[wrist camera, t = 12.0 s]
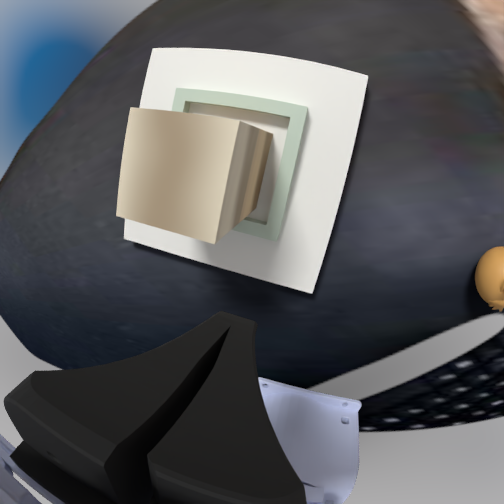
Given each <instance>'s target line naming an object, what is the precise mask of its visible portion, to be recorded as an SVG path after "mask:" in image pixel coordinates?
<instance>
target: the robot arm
mask: <svg viewBox="0 0 504 504" xmlns="http://www.w3.org/2000/svg"><path fill="white" fill-rule="evenodd" d="M257 326H258V325H257V323H256V322H255V321H252V320H249V319H246V318H242V317H239V316H236V315H232V314H229V313H226V312H223V311H220V312H218V313H216V314H215V315H213V316H212V317H211V318H209V319H208V320H206V321H205V322H203V323H201V324H200V325H198V326H197V327H195V328H193V329H192V330H190V331H188V332H187V333H185V334H183V335H181V336H180V337H178V338H176V339H174V340H172V341H170V342H168V343H166V344H164V345H162V346H160V347H158V348H155V349H153V350H151V351H148V352H146V353H143V354H140V355H138V356H135V357H132V358H128V359H124V360H121V361H117V362H113V363H109V364H105V365H100V366H94V367H88V368H81V369H72V370H55V371H54V370H53V371H34V372H33V373H32V374H30V375H29V376H28V377H27V378H26V379H25V380H23V381H22V382H21V383H20V384H19V385H18V386H17V387H16V388H15V389H14V390H12V391H11V392H10V393H9V394H8V395H7V396H6V397H5V398H4V406H5V409H6V411H7V413H8V415H9V417H10V419H11V421H12V422H13V424H14V426H15V427H16V429H17V431H18V432H19V434H20V435H21V437H22V438H23V440H24V441H22V443H21V444H20V445H19V446H18V447H17V448H15V447H13V446H12V445H11V444H10V443H9V442H8V441H7V440H6V439H5V438H4V437H3V436H1V434H0V504H41V503H40V502H39V501H38V500H37V499H36V498H35V497H34V496H33V495H32V494H31V493H30V492H29V491H28V490H27V489H26V488H25V487H23V485H21V484H20V483H19V482H18V481H17V480H16V479H15V478H14V477H13V472H15V473H16V474H17V475H18V476H19V477H20V478H21V479H22V480H24V481H25V482H26V483H27V484H28V485H30V486H31V487H32V488H33V489H34V490H36V491H37V492H38V493H39V494H41V495H42V496H43V497H45V498H46V499H47V500H49V501H50V502H51V503H53V504H342V503H343V502H344V501H345V500H346V499H347V498H348V496H349V495H350V493H351V491H352V489H353V487H354V484H355V481H356V478H357V473H358V468H359V427H358V411H359V409H360V408H361V402H360V401H358V400H354V399H348V398H343V397H338V396H334V395H329V394H324V393H319V392H315V391H311V390H307V389H303V388H299V387H295V386H291V385H287V384H283V383H279V382H276V381H272V380H268V379H265V378H261V377H258V374H257V367H256V357H255V333H256V330H257ZM265 384H267V385H265ZM344 403H346V404H344ZM12 471H13V472H12Z"/></svg>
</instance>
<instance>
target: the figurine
mask: <svg viewBox="0 0 504 504" xmlns="http://www.w3.org/2000/svg"><path fill="white" fill-rule="evenodd" d="M475 283H476V288H477V290H478V293H479V294H480V296H481V297H482V299H483V300H484V301H486V302H487V303H488V304H490V305H489V306H490V307H494V308H492V310H495V309H499V310H500V312H501V311H502V309H503V308H504V247H495V248H492V249H490V250H488V251H487V252H486V253H485V254H484V255H483V256H482V257H481V259H480V260H479V262H478V264H477V267H476V272H475Z"/></svg>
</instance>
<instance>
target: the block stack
mask: <svg viewBox="0 0 504 504" xmlns="http://www.w3.org/2000/svg"><path fill="white" fill-rule="evenodd" d="M272 137H273V134H272V133H270V132H267V131H265V130H262V129H260V128H257V127H254V126H252V125H249V124H247V123H244V122H241V121H237V120H232V119H226V118H220V117H213V116H207V115H200V114H192V113H184V112H176V111H167V110H157V109H145V108H130V114H129V119H128V125H127V130H126V136H125V143H124V149H123V157H122V164H121V172H120V181H119V190H118V201H117V213H116V216H119V217H122V218H126V219H129V220H132V221H136V222H139V223H143V224H146V225H150V226H153V227H157V228H160V229H163V230H167V231H170V232H174V233H177V234H181V235H184V236H188V237H191V238H195V239H198V240H201V241H205V242H208V243H212V244H216V243H217V242H218V241H219V240H220V239H221V238H223V237H224V236H225V235H226V234H227V233H228V232H229V231H231V230H232V229H233V228H234V227H235V226H236V225H237V224H239V223H240V222H241V221H242V220H243V219H244V218H245V217H247V216H248V215H249V214H250V213H251V212H252V211H254V210H255V209H256V207H257V202H258V198H259V194H260V189H261V185H262V180H263V176H264V172H265V167H266V163H267V158H268V154H269V150H270V145H271V141H272Z"/></svg>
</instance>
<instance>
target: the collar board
mask: <svg viewBox="0 0 504 504" xmlns="http://www.w3.org/2000/svg"><path fill="white" fill-rule="evenodd" d="M367 80H368V76H367V75H363V74H360V73H356V72H353V71H349V70H345V69H341V68H337V67H333V66H329V65H325V64H320V63H315V62H311V61H306V60H300V59H295V58H289V57H283V56H277V55H270V54H263V53H255V52H246V51H235V50H223V49H205V48H153V50H152V54H151V58H150V62H149V66H148V70H147V74H146V79H145V83H144V88H143V92H142V97H141V102H140V108H145V109H157V110H167V111H176V112H184V113H192V114H200V115H207V116H213V117H220V118H226V119H232V120H237V121H241V122H244V123H247V124H249V125H252V126H254V127H257V128H260V129H262V130H265V131H267V132H270V133H272V134H273V137H272V141H271V145H270V150H269V154H268V158H267V163H266V167H265V172H264V176H263V180H262V185H261V189H260V194H259V198H258V202H257V207H256V209H255V210H254V211H252V212H251V213H250V214H249V215H248V216H247V217H245V218H244V219H243V220H242V221H241V222H240V223H239V224H237V225H236V226H235V227H234V228H233V229H232V230H231V231H229V232H228V233H227V234H226V235H225V236H224V237H223V238H221V239H220V240H219V241H218V242H217V243H216V244H212V243H208V242H205V241H201V240H198V239H195V238H191V237H188V236H184V235H181V234H177V233H174V232H170V231H167V230H163V229H160V228H157V227H153V226H150V225H146V224H143V223H139V222H136V221H132V220H129V219H126V218H125V229H124V239H127V240H130V241H133V242H137V243H140V244H143V245H146V246H150V247H153V248H156V249H159V250H163V251H166V252H169V253H172V254H176V255H179V256H182V257H186V258H189V259H192V260H196V261H199V262H202V263H206V264H209V265H213V266H216V267H219V268H223V269H226V270H230V271H233V272H237V273H240V274H244V275H247V276H251V277H254V278H258V279H261V280H265V281H268V282H272V283H275V284H279V285H282V286H286V287H290V288H293V289H297V290H301V291H304V292H308V293H313V290H314V287H315V284H316V280H317V277H318V274H319V271H320V268H321V265H322V261H323V258H324V255H325V251H326V248H327V245H328V241H329V238H330V235H331V231H332V228H333V224H334V221H335V217H336V213H337V210H338V206H339V202H340V199H341V195H342V191H343V187H344V183H345V180H346V176H347V172H348V168H349V164H350V159H351V155H352V151H353V147H354V143H355V138H356V134H357V129H358V125H359V120H360V115H361V111H362V106H363V101H364V96H365V91H366V86H367Z"/></svg>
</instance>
